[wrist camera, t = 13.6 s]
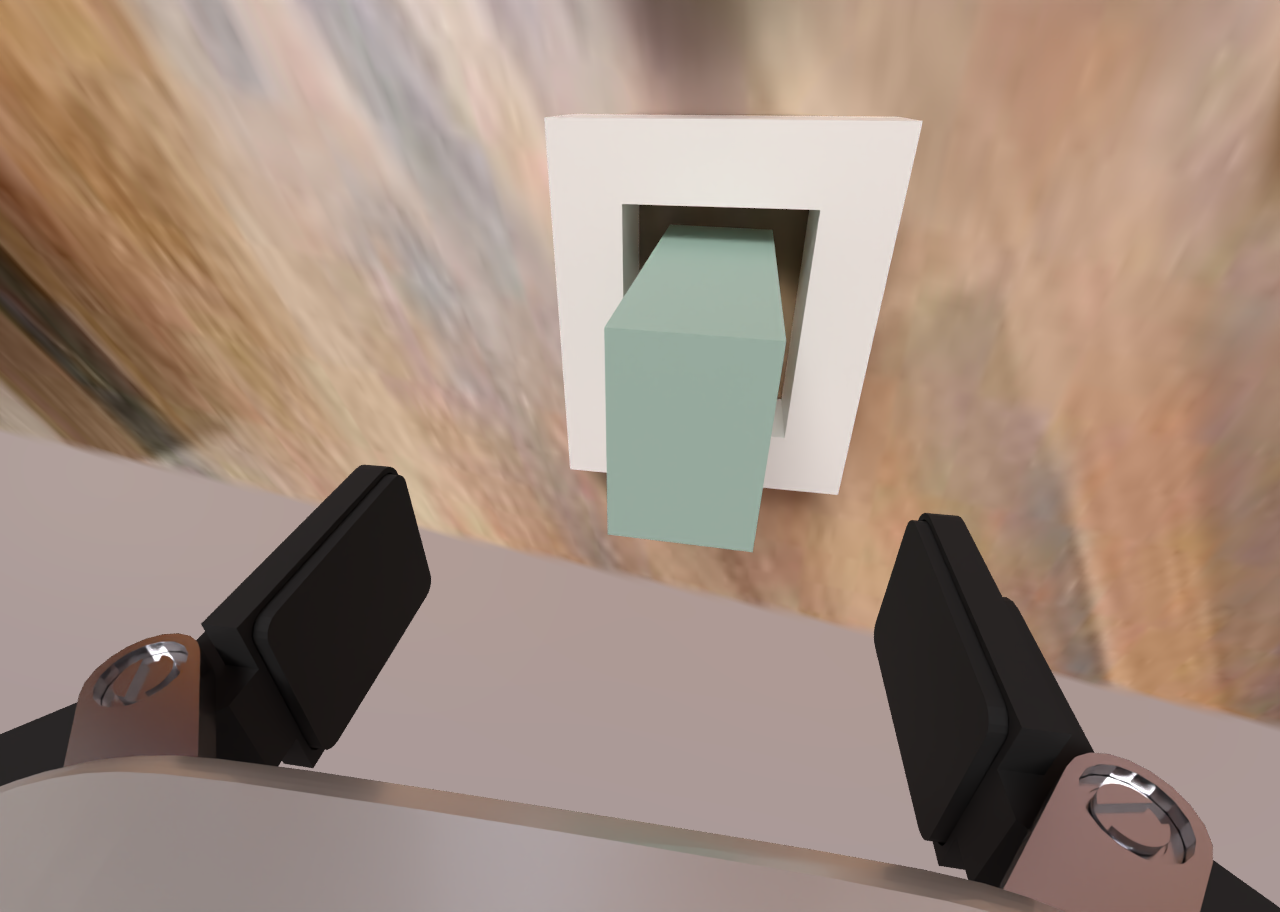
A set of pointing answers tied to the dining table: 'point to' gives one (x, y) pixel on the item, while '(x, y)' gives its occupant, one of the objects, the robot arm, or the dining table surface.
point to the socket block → (745, 178)
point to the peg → (694, 388)
